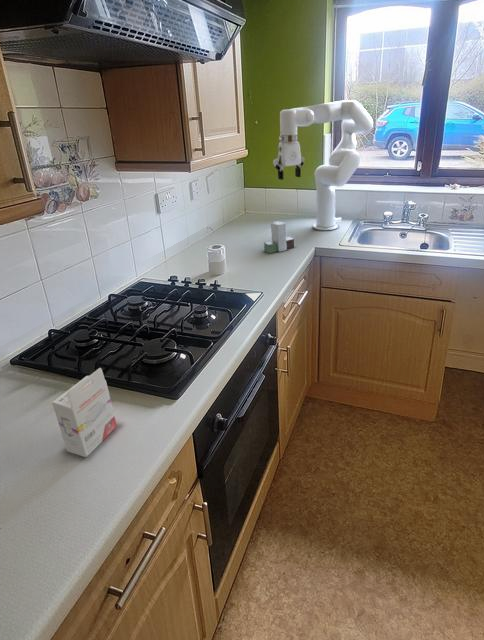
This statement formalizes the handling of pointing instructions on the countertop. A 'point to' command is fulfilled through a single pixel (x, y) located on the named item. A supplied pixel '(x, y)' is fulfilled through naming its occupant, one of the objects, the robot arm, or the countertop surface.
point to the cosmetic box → (279, 235)
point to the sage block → (270, 247)
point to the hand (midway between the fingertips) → (289, 178)
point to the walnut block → (289, 242)
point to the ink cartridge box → (85, 414)
